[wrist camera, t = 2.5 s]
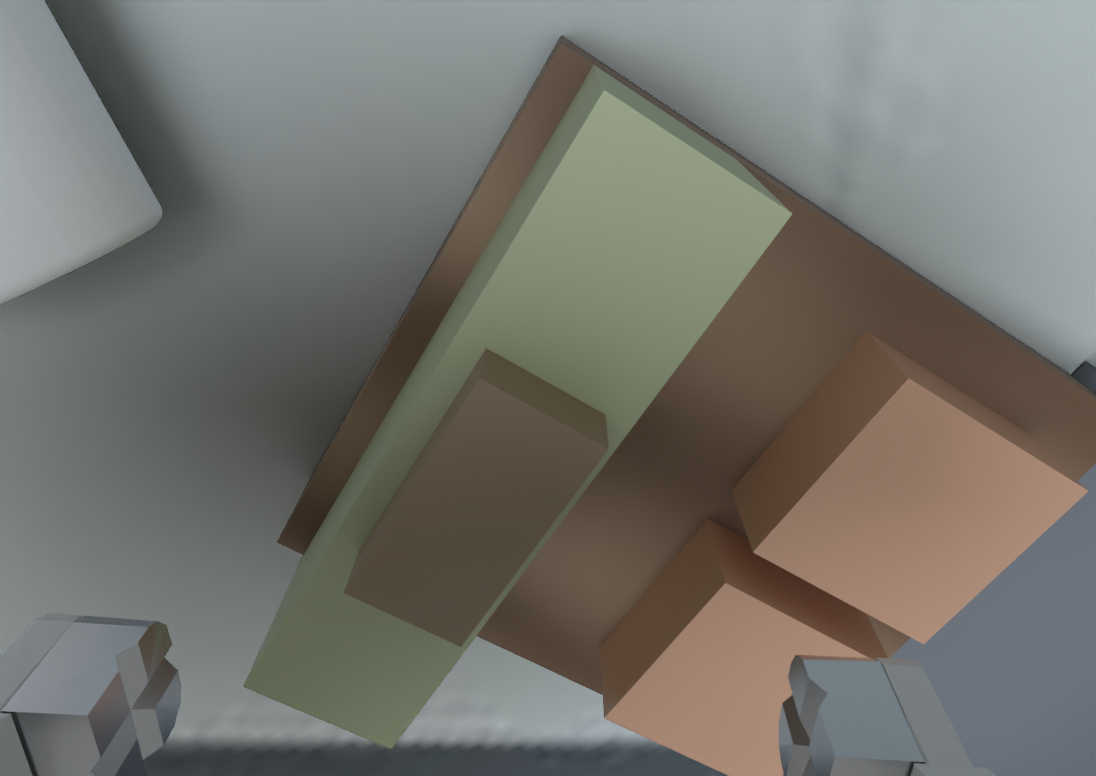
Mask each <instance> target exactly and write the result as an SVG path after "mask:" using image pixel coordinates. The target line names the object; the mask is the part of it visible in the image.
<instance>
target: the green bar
mask: <svg viewBox="0 0 1096 776" xmlns="http://www.w3.org/2000/svg"><path fill="white" fill-rule="evenodd" d="M791 215H792V213H791V212H790V211H789V210H788V209H787V208H786V207H785V206H784V205H783V204H782V203H781V202H780V201H779V200H778V199H777V198H776V197H775V196H774V195H773V194H772V193H771V192H770V191H769V190H768V189H767V188H766V187H764V186H763V185H762V184H761V183H760V182H759V181H758V180H757V179H756V178H755V177H754V176H753V175H752V174H751V173H750V172H749V171H748V170H747V169H746V168H745V167H744V166H743V165H742V164H741V163H740V162H739V161H738V160H736V159H735V158H733V157H732V156H730V155H729V154H727V153H726V152H724V151H723V150H721V149H720V148H718V147H717V146H715V145H714V144H712V143H711V142H709V141H708V140H706V139H705V138H703V137H702V136H700V135H699V134H697V133H696V132H694V131H693V130H691V129H690V128H688V127H687V126H685V125H684V124H682V123H681V122H679V121H678V120H676V119H675V118H673V117H672V116H670V115H669V114H667V113H666V112H664V111H663V110H661V109H660V108H658V107H657V106H655V105H654V104H652V103H651V102H649V101H648V100H646V99H645V98H643V97H641V96H640V95H638V94H637V93H635V92H634V91H632V90H631V89H629V88H628V87H626V86H625V85H623V84H622V83H620V82H619V81H617V80H616V79H614V78H613V77H611V76H610V75H608V74H607V73H605V72H604V71H602V70H601V69H599V68H598V67H596V66H595V65H593V67H592V68H591V70H590V72H589V73H588V75H587V77H586V79H585V80H584V82H583V84H582V85H581V87H580V89H579V90H578V92H577V94H576V95H575V97H574V99H573V100H572V102H571V104H570V106H569V107H568V109H567V111H566V112H565V114H564V116H563V117H562V119H561V121H560V122H559V124H558V126H557V128H556V129H555V131H554V133H553V134H552V136H551V138H550V139H549V141H548V143H547V144H546V146H545V148H544V149H543V151H542V153H541V155H540V156H539V158H538V160H537V161H536V163H535V165H534V166H533V168H532V170H531V171H530V173H529V175H528V177H527V178H526V180H525V182H524V183H523V185H522V187H521V188H520V190H519V192H518V193H517V195H516V197H515V198H514V200H513V202H512V204H511V205H510V207H509V209H508V210H507V212H506V214H505V215H504V217H503V219H502V220H501V222H500V224H499V226H498V227H497V229H496V231H495V232H494V234H493V236H492V237H491V239H490V241H489V242H488V244H487V246H486V247H485V249H484V251H483V253H482V254H481V256H480V258H479V259H478V261H477V263H476V264H475V266H474V268H473V269H472V271H471V273H470V275H469V276H468V278H467V280H466V281H465V283H464V285H463V286H462V288H461V290H460V291H459V293H458V295H457V296H456V298H455V300H454V302H453V303H452V305H451V307H450V308H449V310H448V312H447V313H446V315H445V317H444V318H443V320H442V322H441V324H440V325H439V327H438V329H437V330H436V332H435V334H434V335H433V337H432V339H431V340H430V342H429V344H428V345H427V347H426V349H425V351H424V352H423V354H422V356H421V357H420V359H419V361H418V362H417V364H416V366H415V367H414V369H413V371H412V373H411V374H410V376H409V378H408V379H407V381H406V383H405V384H404V386H403V388H402V389H401V391H400V393H399V394H398V396H397V398H396V400H395V401H394V403H393V405H392V406H391V408H390V410H389V411H388V413H387V415H386V416H385V418H384V420H383V422H382V423H381V425H380V427H379V428H378V430H377V432H376V433H375V435H374V437H373V438H372V440H371V442H370V443H369V445H368V447H367V449H366V450H365V452H364V454H363V455H362V457H361V459H360V460H359V462H358V464H357V465H356V467H355V469H354V470H353V472H352V474H351V476H350V477H349V479H348V481H347V482H346V484H345V486H344V487H343V489H342V491H341V492H340V494H339V496H338V498H337V499H336V501H335V503H334V504H333V506H332V508H331V509H330V511H329V513H328V514H327V516H326V518H325V519H324V521H323V523H322V525H321V526H320V528H319V530H318V531H317V533H316V535H315V536H314V538H313V540H312V541H311V543H310V545H309V547H308V548H307V550H306V552H305V553H304V555H303V557H302V559H301V562H300V564H299V566H298V568H297V570H296V572H295V575H294V577H293V579H292V581H291V583H290V586H289V588H288V590H287V592H286V594H285V597H284V599H283V601H282V603H281V605H280V607H279V610H278V612H277V614H276V616H275V618H274V621H273V623H272V625H271V627H270V629H269V632H268V634H267V636H266V638H265V640H264V642H263V645H262V647H261V649H260V651H259V653H258V656H257V658H256V660H255V662H254V664H253V666H252V669H251V671H250V673H249V675H248V677H247V680H246V682H245V684H244V686H243V687H245V688H247V689H250V690H252V691H255V692H257V693H259V694H262V695H264V696H266V697H269V698H271V699H273V700H276V701H278V702H281V703H283V704H285V705H288V706H290V707H292V708H295V709H297V710H300V711H302V712H304V713H307V714H309V715H311V716H314V717H316V718H318V719H321V720H323V721H326V722H328V723H330V724H333V725H335V726H337V727H340V728H342V729H344V730H347V731H349V732H352V733H354V734H356V735H359V736H361V737H363V738H366V739H368V740H370V741H373V742H375V743H378V744H380V745H382V746H385V747H387V748H389V749H392V747H393V746H394V745H395V743H396V742H397V741H398V739H399V738H400V737H401V735H402V734H403V733H404V731H405V730H406V729H407V727H408V726H409V725H410V723H411V722H412V721H413V719H414V718H415V717H416V715H417V714H418V713H419V711H420V710H421V709H422V707H423V706H424V705H425V703H426V702H427V701H428V699H429V698H430V697H431V695H432V694H433V693H434V691H435V690H436V689H437V687H438V686H439V685H440V683H441V682H442V681H443V679H444V678H445V677H446V675H447V674H448V673H449V671H450V670H451V669H452V667H453V666H454V665H455V663H456V662H457V661H458V659H459V658H460V657H461V655H462V654H463V653H464V651H465V650H466V649H467V647H468V646H469V645H470V643H471V642H472V641H473V639H474V638H475V637H476V635H477V634H478V633H479V631H480V630H481V629H482V627H483V626H484V625H485V623H486V622H487V621H488V619H489V618H490V617H491V615H492V614H493V613H494V611H495V610H496V609H497V607H498V606H499V605H500V603H501V602H502V601H503V599H504V598H505V597H506V595H507V594H508V593H509V591H510V590H511V589H512V587H513V586H514V585H515V583H516V582H517V581H518V579H519V578H520V577H521V575H522V574H523V573H524V571H525V570H526V569H527V567H528V566H529V565H530V563H531V562H532V561H533V559H534V558H535V557H536V555H537V554H538V553H539V551H540V550H541V549H542V547H543V546H544V545H545V543H546V542H547V541H548V539H549V538H550V537H551V535H552V534H553V533H554V531H555V530H556V529H557V527H558V526H559V525H560V523H561V522H562V521H563V519H564V518H565V517H566V515H567V514H568V513H569V511H570V510H571V509H572V507H573V506H574V505H575V503H576V502H577V501H578V499H579V498H580V497H581V495H582V494H583V493H584V491H585V490H586V489H587V487H588V486H589V485H590V483H591V482H592V481H593V479H594V478H595V477H596V475H597V474H598V473H599V471H600V470H601V469H602V467H603V466H604V465H605V463H606V462H607V461H608V459H609V458H610V457H611V455H612V454H613V453H614V451H615V450H616V449H617V447H618V446H619V445H620V443H621V442H622V441H623V439H624V438H625V437H626V435H627V434H628V433H629V431H630V430H631V429H632V427H633V426H634V425H635V423H636V422H637V421H638V419H639V418H640V417H641V415H642V414H643V413H644V411H645V410H646V409H647V407H648V406H649V405H650V403H651V402H652V401H653V399H654V398H655V397H656V395H657V394H658V393H659V391H660V390H661V389H662V387H663V386H664V385H665V383H666V382H667V381H668V379H669V378H670V377H671V375H672V374H673V373H674V371H675V370H676V369H677V367H678V366H679V365H680V363H681V362H682V361H683V359H684V358H685V357H686V355H687V354H688V353H689V351H690V350H691V349H692V347H693V346H694V345H695V343H696V342H697V341H698V339H699V338H700V337H701V335H702V334H703V333H704V331H705V330H706V329H707V327H708V326H709V325H710V323H711V322H712V321H713V319H714V318H715V317H716V315H717V314H718V313H719V311H720V310H721V309H722V307H723V306H724V305H725V303H726V302H727V301H728V299H729V298H730V297H731V295H732V294H733V293H734V291H735V290H736V289H737V287H738V286H739V285H740V283H741V282H742V281H743V279H744V278H745V277H746V275H747V274H748V273H749V271H750V270H751V269H752V267H753V266H754V265H755V263H756V262H757V261H758V259H759V258H760V257H761V255H762V254H763V253H764V251H765V250H766V249H767V247H768V246H769V245H770V243H771V242H772V241H773V239H774V238H775V237H776V235H777V234H778V233H779V231H780V230H781V229H782V227H783V226H784V225H785V223H786V222H787V221H788V219H789V218H790V217H791Z"/></svg>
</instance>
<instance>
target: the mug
mask: <svg viewBox="0 0 1096 776" xmlns="http://www.w3.org/2000/svg"><path fill="white" fill-rule="evenodd" d="M161 218H162V208H161V206H160V204H159V202H158V200H157V199H156V197H155V195H154V193H153V192H152V190H151V188H150V186H149V185H148V183H147V181H146V179H145V177H144V176H143V174H142V172H141V170H140V169H139V167H138V165H137V163H136V162H135V160H134V158H133V156H132V154H131V153H130V151H129V149H128V147H127V146H126V144H125V142H124V140H123V139H122V137H121V135H120V133H119V131H118V130H117V128H116V126H115V124H114V123H113V121H112V119H111V117H110V116H109V114H108V112H107V110H106V109H105V107H104V105H103V103H102V101H101V100H100V98H99V96H98V94H97V93H96V91H95V89H94V87H93V86H92V84H91V82H90V80H89V78H88V77H87V75H86V73H85V71H84V70H83V68H82V66H81V64H80V63H79V61H78V59H77V57H76V56H75V54H74V52H73V50H72V48H71V47H70V45H69V43H68V41H67V40H66V38H65V36H64V34H63V33H62V31H61V29H60V27H59V25H58V24H57V22H56V20H55V18H54V17H53V15H52V13H51V11H50V10H49V8H48V6H47V4H46V3H45V1H44V0H0V304H3V303H5V302H7V301H9V300H11V299H14V298H16V297H18V296H20V295H22V294H25V293H27V292H29V291H31V290H33V289H35V288H37V287H40V286H42V285H44V284H46V283H48V282H50V281H52V280H55V279H57V278H59V277H61V276H63V275H65V274H67V273H69V272H71V271H73V270H75V269H77V268H79V267H81V266H84V265H86V264H88V263H90V262H92V261H94V260H96V259H98V258H100V257H102V256H104V255H105V254H107V253H109V252H111V251H113V250H115V249H117V248H119V247H121V246H123V245H125V244H126V243H128V242H130V241H132V240H134V239H135V238H137V237H139V236H140V235H142V234H144V233H145V232H147V231H149V230H150V229H151V228H153V227H154V226H155V225H156V224H158V222H159V221H160V220H161Z"/></svg>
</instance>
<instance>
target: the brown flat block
mask: <svg viewBox="0 0 1096 776" xmlns="http://www.w3.org/2000/svg"><path fill="white" fill-rule="evenodd" d="M593 65H595V66H596V67H598V68H599V69H601V70H602V71H604V72H605V73H607V74H608V75H610V76H611V77H613V78H614V79H616V80H617V81H619V82H620V83H622V84H623V85H625V86H626V87H628V88H629V89H631V90H632V91H634V92H635V93H637V94H638V95H640V96H641V97H643V98H645V99H646V100H648V101H649V102H651V103H652V104H654V105H655V106H657V107H658V108H660V109H661V110H663V111H664V112H666V113H667V114H669V115H670V116H672V117H673V118H675V119H676V120H678V121H679V122H681V123H682V124H684V125H685V126H687V127H688V128H690V129H691V130H693V131H694V132H696V133H697V134H699V135H700V136H702V137H703V138H705V139H706V140H708V141H709V142H711V143H712V144H714V145H715V146H717V147H718V148H720V149H721V150H723V151H724V152H726V153H727V154H729V155H730V156H732V157H733V158H735V159H736V160H738V161H739V162H740V163H741V164H742V165H743V166H744V167H745V168H746V169H747V170H748V171H749V172H750V173H751V174H752V175H753V176H754V177H755V178H756V179H757V180H758V181H759V182H760V183H761V184H762V185H763V186H764V187H766V188H767V189H768V190H769V191H770V192H771V193H772V194H773V195H774V196H775V197H776V198H777V199H778V200H779V201H780V202H781V203H782V204H783V205H784V206H785V207H786V208H787V209H788V210H789V211H790V212H791V213H792V215H791V217H790V218H789V219H788V221H787V222H786V223H785V225H784V226H783V227H782V229H781V230H780V231H779V233H778V234H777V235H776V237H775V238H774V239H773V241H772V242H771V243H770V245H769V246H768V247H767V249H766V250H765V251H764V253H763V254H762V255H761V257H760V258H759V259H758V261H757V262H756V263H755V265H754V266H753V267H752V269H751V270H750V271H749V273H748V274H747V275H746V277H745V278H744V279H743V281H742V282H741V283H740V285H739V286H738V287H737V289H736V290H735V291H734V293H733V294H732V295H731V297H730V298H729V299H728V301H727V302H726V303H725V305H724V306H723V307H722V309H721V310H720V311H719V313H718V314H717V315H716V317H715V318H714V319H713V321H712V322H711V323H710V325H709V326H708V327H707V329H706V330H705V331H704V333H703V334H702V335H701V337H700V338H699V339H698V341H697V342H696V343H695V345H694V346H693V347H692V349H691V350H690V351H689V353H688V354H687V355H686V357H685V358H684V359H683V361H682V362H681V363H680V365H679V366H678V367H677V369H676V370H675V371H674V373H673V374H672V375H671V377H670V378H669V379H668V381H667V382H666V383H665V385H664V386H663V387H662V389H661V390H660V391H659V393H658V394H657V395H656V397H655V398H654V399H653V401H652V402H651V403H650V405H649V406H648V407H647V409H646V410H645V411H644V413H643V414H642V415H641V417H640V418H639V419H638V421H637V422H636V423H635V425H634V426H633V427H632V429H631V430H630V431H629V433H628V434H627V435H626V437H625V438H624V439H623V441H622V442H621V443H620V445H619V446H618V447H617V449H616V450H615V451H614V453H613V454H612V455H611V457H610V458H609V459H608V461H607V462H606V463H605V465H604V466H603V467H602V469H601V470H600V471H599V473H598V474H597V475H596V477H595V478H594V479H593V481H592V482H591V483H590V485H589V486H588V487H587V489H586V490H585V491H584V493H583V494H582V495H581V497H580V498H579V499H578V501H577V502H576V503H575V505H574V506H573V507H572V509H571V510H570V511H569V513H568V514H567V515H566V517H565V518H564V519H563V521H562V522H561V523H560V525H559V526H558V527H557V529H556V530H555V531H554V533H553V534H552V535H551V537H550V538H549V539H548V541H547V542H546V543H545V545H544V546H543V547H542V549H541V550H540V551H539V553H538V554H537V555H536V557H535V558H534V559H533V561H532V562H531V563H530V565H529V566H528V567H527V569H526V570H525V571H524V573H523V574H522V575H521V577H520V578H519V579H518V581H517V582H516V583H515V585H514V586H513V587H512V589H511V590H510V591H509V593H508V594H507V595H506V597H505V598H504V599H503V601H502V602H501V603H500V605H499V606H498V607H497V609H496V610H495V611H494V613H493V614H492V615H491V617H490V618H489V619H488V621H487V622H486V623H485V625H484V626H483V627H482V629H481V630H480V631H479V633H478V634H477V635H476V636H478V637H480V638H482V639H484V640H487V641H489V642H491V643H493V644H495V645H497V646H499V647H501V648H504V649H506V650H508V651H510V652H512V653H514V654H516V655H519V656H521V657H523V658H525V659H527V660H529V661H531V662H534V663H536V664H538V665H540V666H542V667H544V668H546V669H549V670H551V671H553V672H555V673H557V674H559V675H561V676H563V677H566V678H568V679H570V680H572V681H574V682H576V683H578V684H581V685H583V686H585V687H587V688H589V689H591V690H593V691H596V692H598V693H600V694H602V695H603V688H602V671H601V654H600V645H601V644H602V643H603V642H604V641H605V639H606V638H607V637H608V636H609V635H610V634H611V632H612V631H613V630H614V629H615V628H616V626H617V625H618V624H619V623H620V622H621V621H622V619H623V618H624V617H625V616H626V615H627V613H628V612H629V611H630V610H631V609H632V608H633V606H634V605H635V604H636V603H637V602H638V600H639V599H640V598H641V597H642V596H643V594H644V593H645V592H646V591H647V590H648V589H649V587H650V586H651V585H652V584H653V583H654V581H655V580H656V579H657V578H658V577H659V576H660V574H661V573H662V572H663V571H664V570H665V568H666V567H667V566H668V565H669V564H670V563H671V561H672V560H673V559H674V558H675V557H676V555H677V554H678V553H679V552H680V551H681V550H682V548H683V547H684V546H685V545H686V544H687V542H688V541H689V540H690V539H691V538H692V536H693V535H694V534H695V533H696V532H697V531H698V529H699V528H700V527H701V526H702V525H703V523H704V522H705V521H706V520H707V519H710V520H711V521H713V522H715V523H717V524H719V525H721V526H723V527H724V528H726V529H728V530H730V531H732V532H734V533H735V534H737V535H739V536H741V537H743V538H745V539H747V540H748V537H747V534H746V531H745V528H744V525H743V522H742V519H741V516H740V513H739V510H738V507H737V504H736V501H735V498H734V496H733V493H732V489H733V488H734V487H735V486H736V484H737V483H738V482H739V481H740V480H741V478H742V477H743V476H744V475H745V474H746V473H747V471H748V470H749V469H750V468H751V467H752V465H753V464H754V463H755V462H756V461H757V460H758V458H759V457H760V456H761V455H762V454H763V452H764V451H765V450H766V449H767V448H768V447H769V445H770V444H771V443H772V442H773V441H774V439H775V438H776V437H777V436H778V435H779V433H780V432H781V431H782V430H783V429H784V428H785V426H786V425H787V424H788V423H789V422H790V420H791V419H792V418H793V417H794V416H795V415H796V413H797V412H798V411H799V410H800V409H801V407H802V406H803V405H804V404H805V403H806V402H807V400H808V399H809V398H810V397H811V396H812V394H813V393H814V392H815V391H816V390H817V388H818V387H819V386H820V385H821V384H822V383H823V381H824V380H825V379H826V378H827V377H828V375H829V374H830V373H831V372H832V371H833V370H834V368H835V367H836V366H837V365H838V364H839V362H840V361H841V360H842V359H843V358H844V357H845V355H846V354H847V353H848V352H849V351H850V349H851V348H852V347H853V346H854V345H855V344H856V342H857V341H858V340H859V339H860V338H861V336H862V335H863V334H864V333H865V332H866V331H868V332H869V333H871V334H872V335H874V336H875V337H877V338H879V339H880V340H882V341H883V342H885V343H886V344H888V345H890V346H891V347H893V348H894V349H896V350H897V351H899V352H901V353H902V354H904V355H905V356H907V357H908V358H910V359H912V360H913V361H915V362H916V363H918V364H919V365H921V366H923V367H924V368H926V369H927V370H929V371H931V372H932V373H934V374H935V375H937V376H938V377H940V378H942V379H943V380H945V381H946V382H948V383H949V384H951V385H953V386H954V387H956V388H957V389H959V390H960V391H962V392H964V393H965V394H967V395H968V396H970V397H971V398H973V399H975V400H976V401H978V402H979V403H981V404H982V405H984V406H986V407H987V408H989V409H990V410H992V411H994V412H995V413H997V414H998V415H1000V416H1001V417H1003V418H1005V419H1006V420H1008V421H1009V422H1011V423H1012V424H1014V425H1016V426H1017V427H1019V428H1020V429H1022V430H1023V431H1025V432H1027V433H1028V434H1029V435H1030V436H1031V437H1032V438H1033V439H1034V440H1035V441H1037V442H1038V443H1039V444H1040V445H1041V446H1042V447H1043V448H1044V449H1045V450H1046V451H1047V452H1048V453H1049V454H1050V455H1051V456H1052V457H1053V458H1054V459H1055V460H1057V461H1058V462H1059V463H1060V464H1061V465H1062V466H1063V467H1064V468H1065V469H1066V470H1067V471H1068V472H1069V473H1070V474H1071V475H1072V476H1073V477H1074V478H1075V479H1076V480H1079V479H1080V478H1081V477H1082V476H1083V475H1084V474H1085V473H1086V472H1087V471H1089V470H1090V469H1091V468H1092V467H1093V466H1094V465H1095V464H1096V394H1095V393H1093V392H1092V391H1091V390H1089V389H1088V388H1087V387H1085V386H1084V385H1083V384H1081V383H1080V382H1079V381H1078V380H1076V379H1075V378H1074V377H1072V376H1071V375H1070V374H1068V373H1067V372H1066V371H1064V370H1063V369H1061V368H1060V367H1058V366H1057V365H1055V364H1054V363H1052V362H1051V361H1049V360H1048V359H1046V358H1045V357H1043V356H1042V355H1040V354H1039V353H1037V352H1036V351H1034V350H1033V349H1031V348H1030V347H1028V346H1027V345H1025V344H1024V343H1022V342H1021V341H1019V340H1018V339H1016V338H1015V337H1013V336H1012V335H1010V334H1009V333H1007V332H1006V331H1004V330H1003V329H1001V328H1000V327H998V326H997V325H995V324H994V323H992V322H991V321H989V320H987V319H986V318H984V317H983V316H981V315H980V314H978V313H977V312H975V311H974V310H972V309H971V308H969V307H968V306H966V305H965V304H963V303H962V302H960V301H959V300H957V299H956V298H954V297H953V296H951V295H950V294H948V293H947V292H945V291H944V290H942V289H941V288H939V287H938V286H936V285H935V284H933V283H932V282H930V281H929V280H927V279H926V278H924V277H923V276H921V275H920V274H918V273H917V272H915V271H914V270H912V269H911V268H909V267H908V266H906V265H905V264H903V263H902V262H900V261H899V260H897V259H896V258H894V257H893V256H891V255H890V254H888V253H887V252H885V251H884V250H882V249H881V248H879V247H878V246H876V245H875V244H873V243H872V242H870V241H869V240H867V239H866V238H864V237H863V236H861V235H860V234H858V233H857V232H855V231H854V230H852V229H851V228H849V227H848V226H846V225H845V224H843V223H842V222H840V221H839V220H837V219H836V218H834V217H833V216H831V215H830V214H828V213H827V212H825V211H824V210H822V209H821V208H819V207H818V206H816V205H815V204H813V203H812V202H810V201H809V200H807V199H806V198H804V197H803V196H801V195H800V194H798V193H797V192H795V191H794V190H792V189H791V188H789V187H788V186H786V185H785V184H783V183H782V182H780V181H779V180H777V179H776V178H774V177H773V176H771V175H770V174H768V173H767V172H765V171H764V170H762V169H761V168H759V167H758V166H756V165H755V164H753V163H752V162H750V161H749V160H747V159H746V158H744V157H743V156H741V155H740V154H738V153H737V152H735V151H734V150H732V149H731V148H729V147H728V146H726V145H725V144H723V143H722V142H720V141H719V140H717V139H716V138H714V137H713V136H711V135H710V134H708V133H707V132H705V131H704V130H702V129H701V128H699V127H698V126H696V125H695V124H693V123H692V122H690V121H689V120H687V119H686V118H684V117H683V116H681V115H680V114H678V113H677V112H675V111H674V110H672V109H671V108H669V107H668V106H666V105H665V104H663V103H662V102H660V101H659V100H657V99H656V98H654V97H653V96H651V95H650V94H648V93H647V92H645V91H644V90H642V89H641V88H639V87H638V86H636V85H635V84H633V83H632V82H630V81H629V80H627V79H626V78H624V77H623V76H621V75H620V74H618V73H617V72H615V71H614V70H612V69H611V68H609V67H608V66H606V65H605V64H603V63H602V62H600V61H599V60H597V59H596V58H594V57H593V56H591V55H590V54H588V53H587V52H585V51H584V50H582V49H581V48H579V47H578V46H576V45H575V44H573V43H572V42H570V41H569V40H567V39H566V38H564V37H563V36H561V37H560V39H559V40H558V42H557V44H556V46H555V47H554V49H553V51H552V53H551V54H550V56H549V58H548V60H547V61H546V63H545V65H544V67H543V69H542V70H541V72H540V74H539V76H538V77H537V79H536V81H535V83H534V84H533V86H532V88H531V90H530V91H529V93H528V95H527V97H526V99H525V100H524V102H523V104H522V106H521V107H520V109H519V111H518V113H517V114H516V116H515V118H514V120H513V121H512V123H511V125H510V127H509V129H508V130H507V132H506V134H505V136H504V137H503V139H502V141H501V143H500V144H499V146H498V148H497V150H496V151H495V153H494V155H493V157H492V158H491V160H490V162H489V164H488V166H487V167H486V169H485V171H484V173H483V174H482V176H481V178H480V180H479V181H478V183H477V185H476V187H475V188H474V190H473V192H472V194H471V196H470V197H469V199H468V201H467V203H466V204H465V206H464V208H463V210H462V211H461V213H460V215H459V217H458V218H457V220H456V222H455V224H454V226H453V227H452V229H451V231H450V233H449V234H448V236H447V238H446V240H445V241H444V243H443V245H442V247H441V248H440V250H439V252H438V254H437V256H436V257H435V259H434V261H433V263H432V264H431V266H430V268H429V270H428V271H427V273H426V275H425V277H424V278H423V280H422V282H421V284H420V285H419V287H418V289H417V291H416V293H415V294H414V296H413V298H412V300H411V301H410V303H409V305H408V307H407V308H406V310H405V312H404V314H403V315H402V317H401V319H400V321H399V323H398V324H397V326H396V328H395V330H394V331H393V333H392V335H391V337H390V338H389V340H388V342H387V344H386V345H385V347H384V349H383V351H382V353H381V354H380V356H379V358H378V360H377V361H376V363H375V365H374V367H373V368H372V370H371V372H370V374H369V375H368V377H367V379H366V381H365V382H364V384H363V386H362V388H361V390H360V391H359V393H358V395H357V397H356V398H355V400H354V402H353V404H352V405H351V407H350V409H349V411H348V412H347V414H346V416H345V418H344V420H343V421H342V423H341V425H340V427H339V428H338V430H337V432H336V434H335V435H334V437H333V439H332V441H331V442H330V444H329V446H328V448H327V450H326V451H325V453H324V455H323V457H322V458H321V460H320V462H319V464H318V465H317V467H316V469H315V471H314V472H313V474H312V476H311V478H310V480H309V481H308V483H307V485H306V487H305V489H304V491H303V493H302V495H301V497H300V499H299V501H298V503H297V505H296V507H295V509H294V510H293V512H292V514H291V516H290V518H289V520H288V522H287V524H286V526H285V528H284V530H283V532H282V534H281V536H280V538H279V540H278V541H277V543H279V544H281V545H283V546H286V547H288V548H290V549H292V550H294V551H296V552H298V553H301V554H303V555H304V553H305V552H306V550H307V548H308V547H309V545H310V543H311V541H312V540H313V538H314V536H315V535H316V533H317V531H318V530H319V528H320V526H321V525H322V523H323V521H324V519H325V518H326V516H327V514H328V513H329V511H330V509H331V508H332V506H333V504H334V503H335V501H336V499H337V498H338V496H339V494H340V492H341V491H342V489H343V487H344V486H345V484H346V482H347V481H348V479H349V477H350V476H351V474H352V472H353V470H354V469H355V467H356V465H357V464H358V462H359V460H360V459H361V457H362V455H363V454H364V452H365V450H366V449H367V447H368V445H369V443H370V442H371V440H372V438H373V437H374V435H375V433H376V432H377V430H378V428H379V427H380V425H381V423H382V422H383V420H384V418H385V416H386V415H387V413H388V411H389V410H390V408H391V406H392V405H393V403H394V401H395V400H396V398H397V396H398V394H399V393H400V391H401V389H402V388H403V386H404V384H405V383H406V381H407V379H408V378H409V376H410V374H411V373H412V371H413V369H414V367H415V366H416V364H417V362H418V361H419V359H420V357H421V356H422V354H423V352H424V351H425V349H426V347H427V345H428V344H429V342H430V340H431V339H432V337H433V335H434V334H435V332H436V330H437V329H438V327H439V325H440V324H441V322H442V320H443V318H444V317H445V315H446V313H447V312H448V310H449V308H450V307H451V305H452V303H453V302H454V300H455V298H456V296H457V295H458V293H459V291H460V290H461V288H462V286H463V285H464V283H465V281H466V280H467V278H468V276H469V275H470V273H471V271H472V269H473V268H474V266H475V264H476V263H477V261H478V259H479V258H480V256H481V254H482V253H483V251H484V249H485V247H486V246H487V244H488V242H489V241H490V239H491V237H492V236H493V234H494V232H495V231H496V229H497V227H498V226H499V224H500V222H501V220H502V219H503V217H504V215H505V214H506V212H507V210H508V209H509V207H510V205H511V204H512V202H513V200H514V198H515V197H516V195H517V193H518V192H519V190H520V188H521V187H522V185H523V183H524V182H525V180H526V178H527V177H528V175H529V173H530V171H531V170H532V168H533V166H534V165H535V163H536V161H537V160H538V158H539V156H540V155H541V153H542V151H543V149H544V148H545V146H546V144H547V143H548V141H549V139H550V138H551V136H552V134H553V133H554V131H555V129H556V128H557V126H558V124H559V122H560V121H561V119H562V117H563V116H564V114H565V112H566V111H567V109H568V107H569V106H570V104H571V102H572V100H573V99H574V97H575V95H576V94H577V92H578V90H579V89H580V87H581V85H582V84H583V82H584V80H585V79H586V77H587V75H588V73H589V72H590V70H591V68H592V67H593ZM748 541H749V540H748ZM867 616H868V618H869V620H870V622H871V624H872V626H873V628H874V630H875V632H876V634H877V636H878V638H879V640H880V642H881V644H882V647H883V649H884V651H885V653H886V655H887V657H888V658H890V657H891V656H892V655H893V654H894V653H895V652H896V651H897V650H898V649H899V648H900V647H902V646H903V645H904V644H905V643H906V642H907V641H908V640H909V639H910V638H911V637H909V636H907V635H906V634H904V633H902V632H900V631H898V630H896V629H894V628H893V627H891V626H889V625H887V624H885V623H883V622H881V621H879V620H878V619H876V618H874V617H872V616H870V615H868V614H867Z"/></svg>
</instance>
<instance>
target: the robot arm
mask: <svg viewBox="0 0 1096 776" xmlns="http://www.w3.org/2000/svg"><path fill="white" fill-rule="evenodd" d="M171 645H172V643H171V640H170V636H169V633H168V629H167V625H165V624H163V623H160V622H158V621H146V620H133V619H120V618H107V617H94V616H84V617H81V616H70V615H58V614H45V615H43V616H41V617H39V618H37V619H35V620H34V621H33V622H32V623H31V624H30V625H29V626H28V628H27V629H26V630H25V631H24V632H23V633H22V634H21V636H20V637H19V638H18V639H17V640H16V641H15V642H14V643H13V645H12V646H11V647H10V648H9V649H8V650H7V651H6V653H5V654H4V655H3V656H2V657H1V658H0V776H147V774H146V770H145V766H144V762H143V760H144V759H145V758H146V757H148V756H149V755H151V754H152V753H154V752H155V751H156V750H158V749H159V748H161V747H162V746H164V744H165V742H166V740H167V738H168V736H169V734H170V732H171V731H172V729H173V727H174V724H175V720H176V717H177V713H178V709H179V706H180V693H181V684H180V679H179V674H178V670H177V669H176V668H175V667H173V666H172V665H171V664H170V663H169V662H168V661H167V660H166V659H165V658H164V656H165V655H166V653H167V652H168V650H169V648H170V647H171ZM788 680H789V683H790V687H791V690H792V694H793V695H791V696H790V697H789V698H788V699H787V700H785V701H784V702H783V703H782V707H781V713H780V718H779V751H780V759H781V764H782V769H783V773H784V776H996V775H995V774H994V773H992V772H991V771H990V770H988V769H987V768H983V767H974V766H973V764H972V762H971V760H970V758H969V756H968V755H967V753H966V751H965V749H964V747H963V745H962V743H961V741H960V739H959V737H958V735H957V733H956V731H955V729H954V727H953V725H952V723H951V721H950V719H949V717H948V715H947V713H946V711H945V709H944V707H943V705H942V704H941V702H940V700H939V698H938V696H937V694H936V692H935V690H934V688H933V686H932V684H931V682H930V680H929V678H928V676H927V674H926V672H925V670H924V668H923V666H922V665H921V664H920V663H919V662H918V661H916V660H915V659H893V658H874V659H872V658H860V657H838V656H815V655H795V657H794V659H793V660H792V662H791V666H790V670H789V674H788Z"/></svg>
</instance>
